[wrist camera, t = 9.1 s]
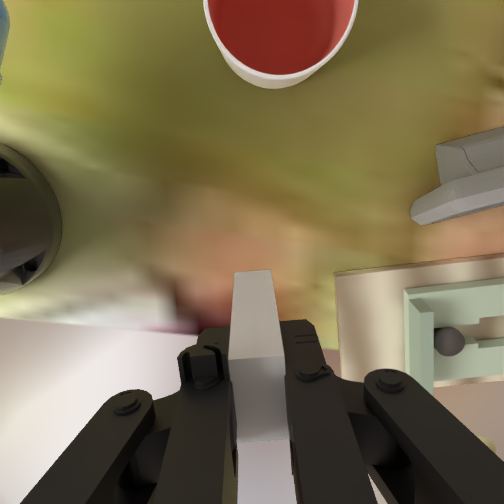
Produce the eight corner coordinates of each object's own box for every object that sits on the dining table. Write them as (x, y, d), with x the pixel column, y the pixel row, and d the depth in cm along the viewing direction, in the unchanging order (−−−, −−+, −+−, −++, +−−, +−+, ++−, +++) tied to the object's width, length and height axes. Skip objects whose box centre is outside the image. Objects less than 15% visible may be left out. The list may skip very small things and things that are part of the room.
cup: (333, -43, 35) (362, -105, 25) (332, 87, 38) (357, 76, 28) (212, -36, 35) (195, -95, 25) (220, 92, 38) (208, 83, 28)
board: (342, 389, 47) (350, 414, 43) (333, 272, 43) (341, 288, 39) (610, 362, 46) (644, 385, 42) (627, 238, 42) (667, 251, 38)
